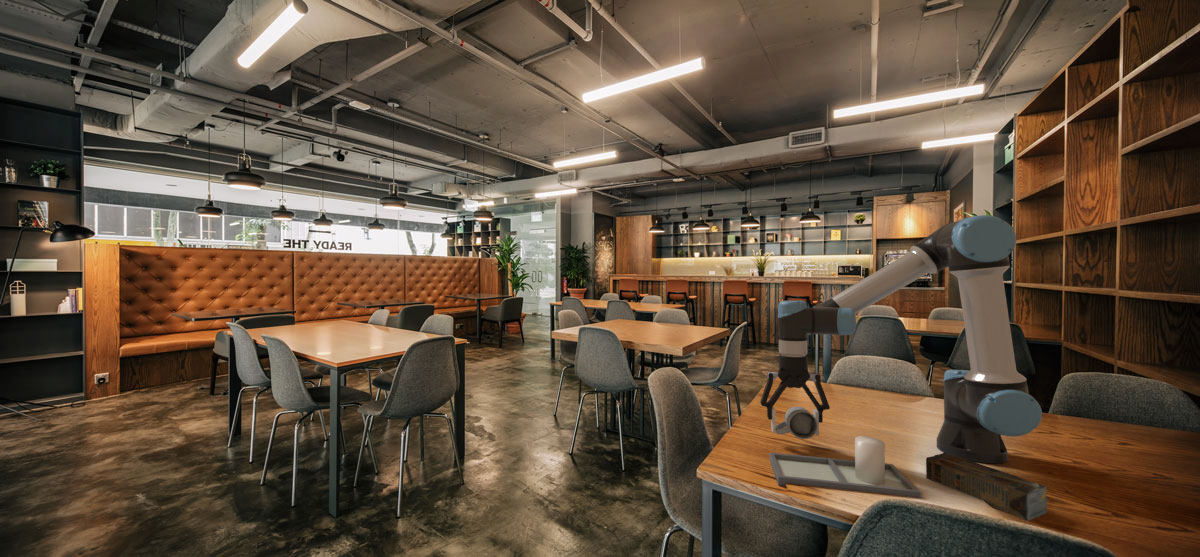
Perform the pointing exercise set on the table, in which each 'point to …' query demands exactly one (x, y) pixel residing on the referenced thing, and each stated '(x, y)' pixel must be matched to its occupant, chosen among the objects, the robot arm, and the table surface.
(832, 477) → the cup caddy
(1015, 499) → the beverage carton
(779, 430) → the ceramic mug
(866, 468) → the white pillar candle
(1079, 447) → the table surface
